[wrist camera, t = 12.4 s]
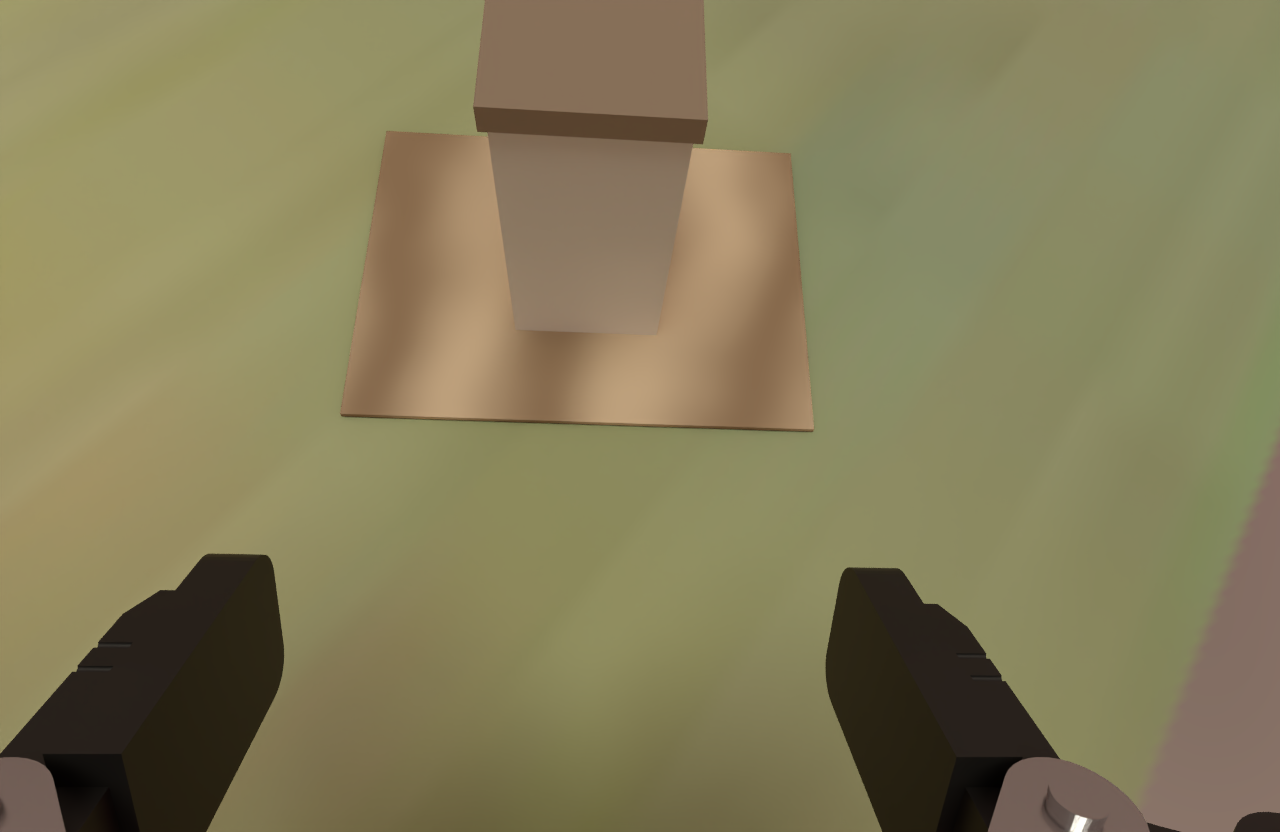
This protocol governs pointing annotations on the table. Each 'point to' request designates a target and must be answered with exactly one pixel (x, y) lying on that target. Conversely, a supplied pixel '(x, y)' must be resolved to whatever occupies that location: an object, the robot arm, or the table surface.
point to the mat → (575, 361)
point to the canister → (590, 152)
